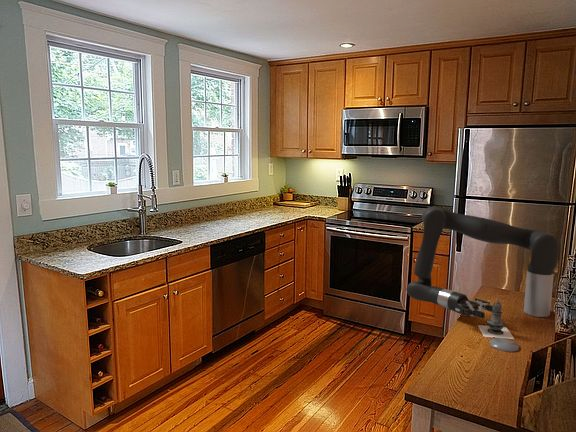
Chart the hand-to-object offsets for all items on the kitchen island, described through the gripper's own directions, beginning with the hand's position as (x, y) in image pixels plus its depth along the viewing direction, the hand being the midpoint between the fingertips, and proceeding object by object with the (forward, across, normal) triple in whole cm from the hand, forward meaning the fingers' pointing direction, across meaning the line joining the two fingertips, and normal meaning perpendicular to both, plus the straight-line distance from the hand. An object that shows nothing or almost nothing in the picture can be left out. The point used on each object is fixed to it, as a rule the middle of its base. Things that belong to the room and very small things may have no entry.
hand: (491, 313), depth 159 cm
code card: (+2, 0, +6) cm, 7 cm away
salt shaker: (+2, 0, +6) cm, 7 cm away
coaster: (+10, -8, +6) cm, 14 cm away
